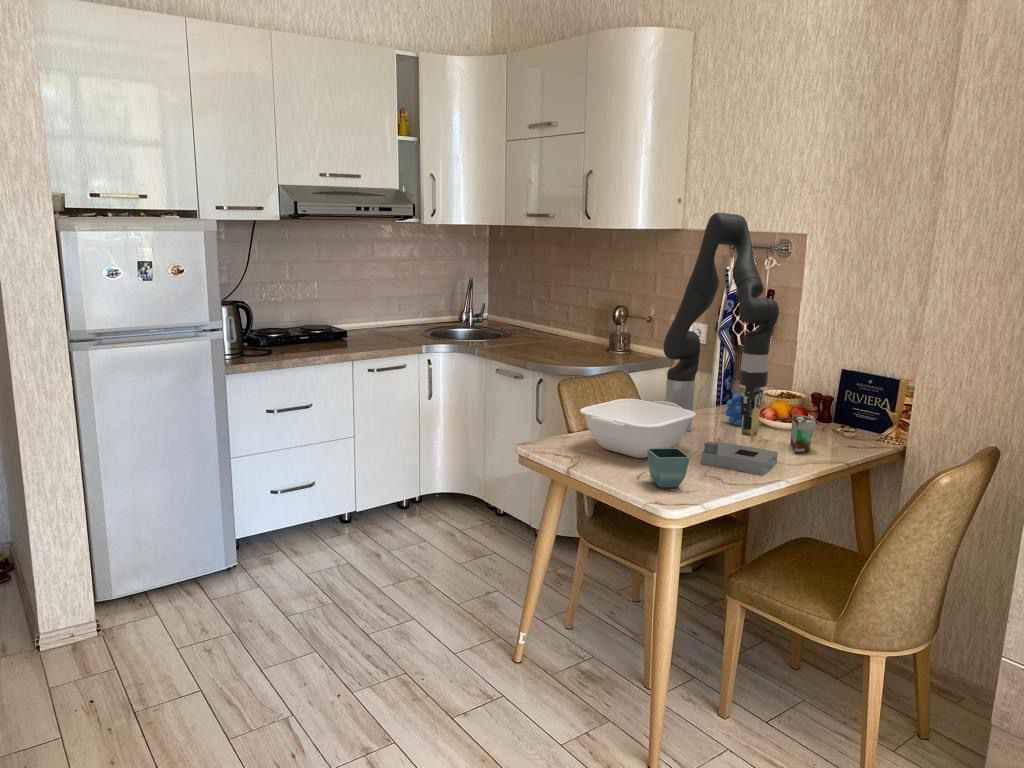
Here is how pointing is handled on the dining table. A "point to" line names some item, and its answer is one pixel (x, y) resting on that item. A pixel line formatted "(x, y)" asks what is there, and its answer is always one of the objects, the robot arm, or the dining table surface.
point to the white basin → (636, 425)
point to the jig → (738, 457)
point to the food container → (801, 433)
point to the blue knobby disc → (734, 409)
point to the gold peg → (754, 424)
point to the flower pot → (667, 466)
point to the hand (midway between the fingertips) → (749, 427)
